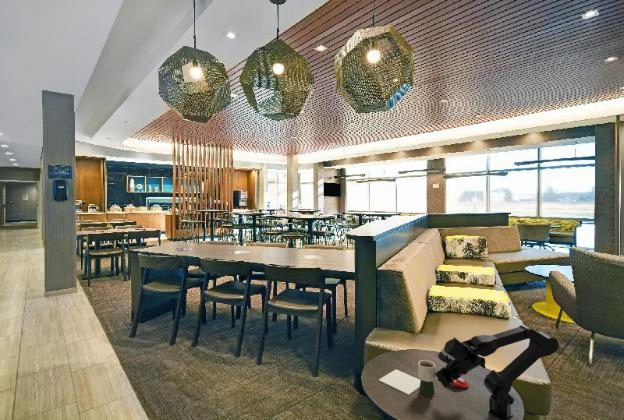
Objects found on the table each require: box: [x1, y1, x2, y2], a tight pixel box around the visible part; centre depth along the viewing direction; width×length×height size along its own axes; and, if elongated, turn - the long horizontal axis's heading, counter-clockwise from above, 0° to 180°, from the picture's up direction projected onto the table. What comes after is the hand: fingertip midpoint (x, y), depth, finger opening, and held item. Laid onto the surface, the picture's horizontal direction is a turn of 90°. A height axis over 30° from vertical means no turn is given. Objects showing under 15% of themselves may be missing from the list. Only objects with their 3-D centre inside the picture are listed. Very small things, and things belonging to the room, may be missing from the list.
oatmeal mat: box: [378, 369, 421, 396], centre depth 151 cm, size 16×14×1 cm
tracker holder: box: [449, 376, 470, 390], centre depth 149 cm, size 12×4×10 cm
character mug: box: [417, 359, 437, 397], centre depth 141 cm, size 11×7×13 cm, turn 170°
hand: (438, 380), depth 137 cm, fingers closed
